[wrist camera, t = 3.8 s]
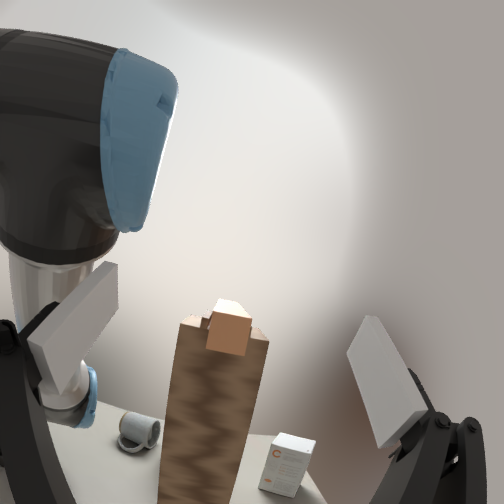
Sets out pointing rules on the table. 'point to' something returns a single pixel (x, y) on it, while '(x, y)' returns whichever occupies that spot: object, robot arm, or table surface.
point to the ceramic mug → (138, 431)
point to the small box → (286, 464)
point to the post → (207, 415)
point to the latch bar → (229, 328)
